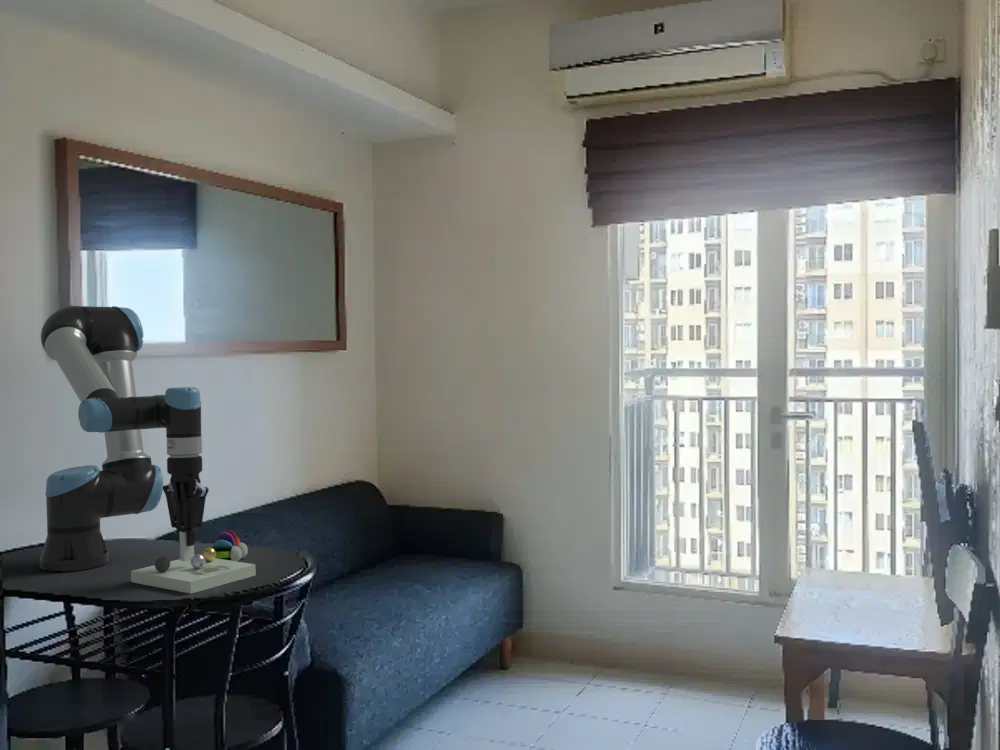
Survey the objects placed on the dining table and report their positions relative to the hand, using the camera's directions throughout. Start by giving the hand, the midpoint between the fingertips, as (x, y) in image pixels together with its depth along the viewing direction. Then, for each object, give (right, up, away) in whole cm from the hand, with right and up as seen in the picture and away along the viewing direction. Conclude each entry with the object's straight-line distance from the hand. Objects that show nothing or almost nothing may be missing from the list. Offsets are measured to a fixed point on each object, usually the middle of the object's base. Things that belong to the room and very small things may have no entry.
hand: (187, 559), depth 206 cm
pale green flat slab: (+2, -4, -1) cm, 5 cm away
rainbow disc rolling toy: (+4, -4, +18) cm, 18 cm away
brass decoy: (+3, 0, +5) cm, 6 cm away
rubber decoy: (-4, 0, -4) cm, 6 cm away
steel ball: (+3, 0, -2) cm, 4 cm away
